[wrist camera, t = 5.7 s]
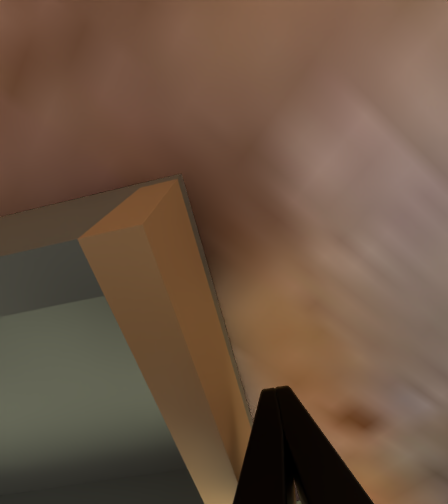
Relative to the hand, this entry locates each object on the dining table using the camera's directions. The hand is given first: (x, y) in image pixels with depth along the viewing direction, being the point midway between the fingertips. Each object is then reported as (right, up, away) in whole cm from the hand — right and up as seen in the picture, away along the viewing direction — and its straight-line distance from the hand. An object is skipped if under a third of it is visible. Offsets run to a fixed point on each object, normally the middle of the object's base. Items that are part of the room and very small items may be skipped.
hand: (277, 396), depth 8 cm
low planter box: (-10, -1, +4) cm, 11 cm away
